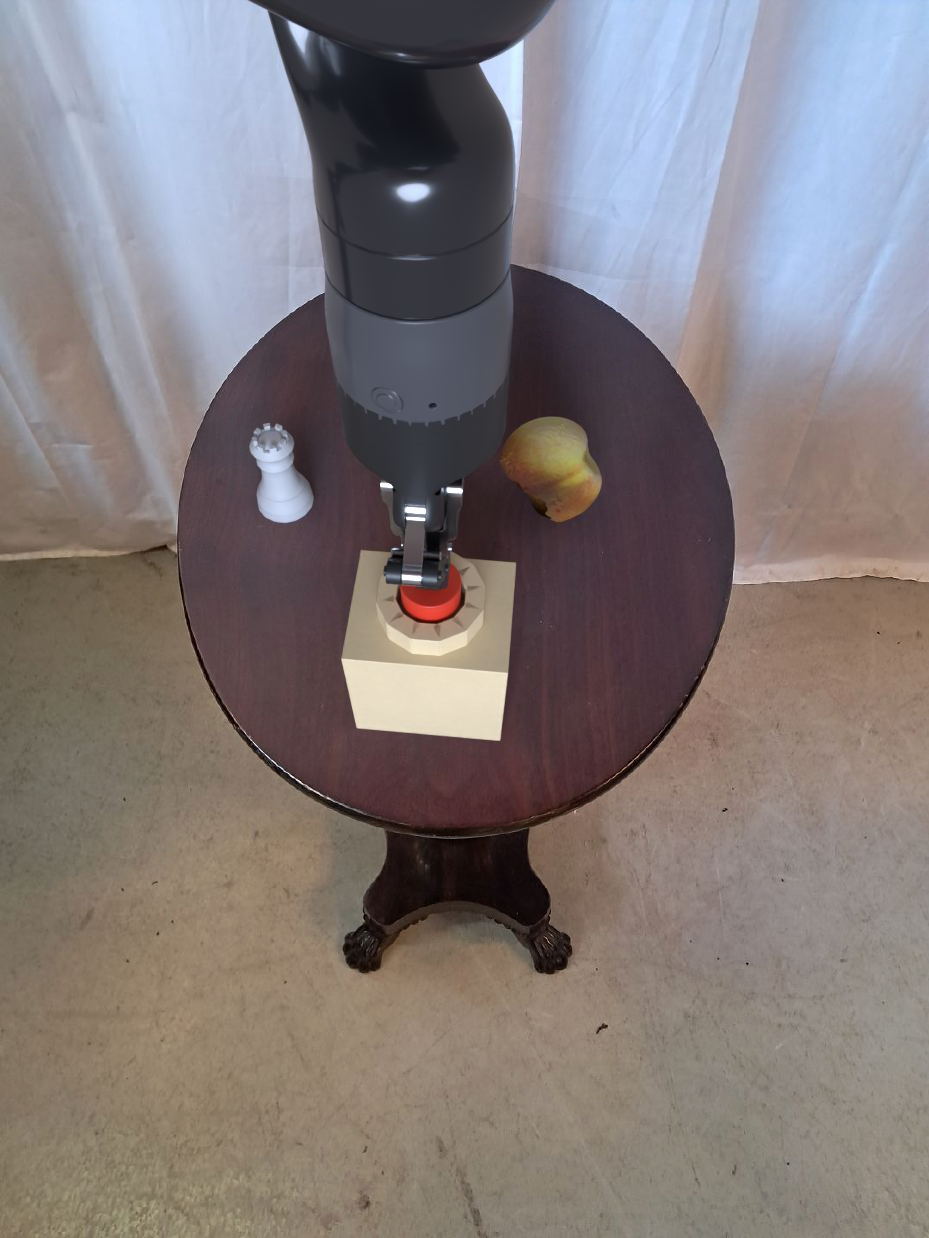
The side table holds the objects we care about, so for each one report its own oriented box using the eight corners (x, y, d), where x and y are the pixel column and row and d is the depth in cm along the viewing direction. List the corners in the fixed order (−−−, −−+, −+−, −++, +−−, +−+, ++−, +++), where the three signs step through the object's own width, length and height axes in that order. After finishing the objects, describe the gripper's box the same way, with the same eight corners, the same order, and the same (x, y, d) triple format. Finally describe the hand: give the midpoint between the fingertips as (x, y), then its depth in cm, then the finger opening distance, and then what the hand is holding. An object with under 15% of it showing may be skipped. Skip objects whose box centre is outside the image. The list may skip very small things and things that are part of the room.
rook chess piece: (286, 473, 75) (269, 403, 68) (326, 501, 73) (313, 433, 66) (246, 506, 73) (225, 438, 66) (286, 535, 71) (268, 469, 64)
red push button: (397, 620, 54) (396, 604, 53) (405, 569, 56) (403, 553, 54) (457, 625, 54) (458, 609, 52) (463, 574, 56) (463, 558, 54)
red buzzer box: (356, 728, 63) (337, 644, 53) (372, 629, 67) (358, 533, 57) (500, 741, 63) (509, 659, 52) (507, 640, 67) (518, 545, 56)
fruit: (575, 555, 71) (588, 490, 64) (479, 517, 72) (481, 450, 66) (610, 486, 74) (626, 418, 67) (518, 452, 76) (524, 381, 69)
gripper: (499, 479, 35) (485, 684, 49) (520, 253, 41) (502, 493, 56) (303, 464, 35) (348, 672, 50) (356, 241, 42) (382, 484, 56)
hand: (430, 577), depth 53 cm, fingers closed
